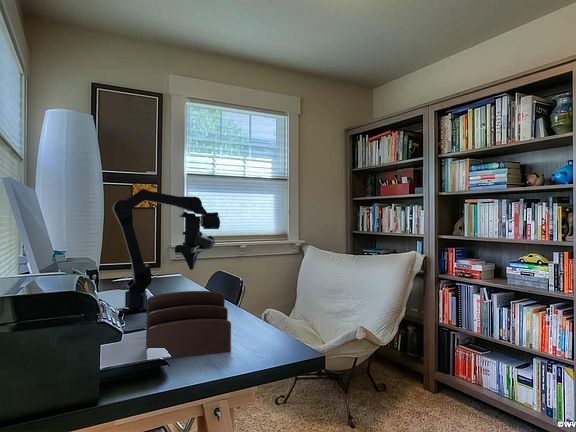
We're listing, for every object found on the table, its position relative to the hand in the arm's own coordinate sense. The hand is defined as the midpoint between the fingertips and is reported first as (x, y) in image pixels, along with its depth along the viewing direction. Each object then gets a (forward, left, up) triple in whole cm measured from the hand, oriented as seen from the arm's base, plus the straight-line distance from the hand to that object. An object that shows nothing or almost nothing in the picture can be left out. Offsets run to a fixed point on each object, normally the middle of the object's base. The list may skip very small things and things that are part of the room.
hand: (191, 269), depth 144 cm
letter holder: (+19, -48, -13) cm, 54 cm away
